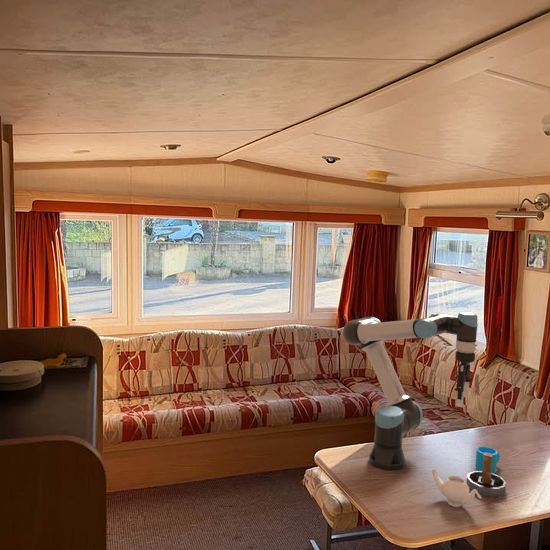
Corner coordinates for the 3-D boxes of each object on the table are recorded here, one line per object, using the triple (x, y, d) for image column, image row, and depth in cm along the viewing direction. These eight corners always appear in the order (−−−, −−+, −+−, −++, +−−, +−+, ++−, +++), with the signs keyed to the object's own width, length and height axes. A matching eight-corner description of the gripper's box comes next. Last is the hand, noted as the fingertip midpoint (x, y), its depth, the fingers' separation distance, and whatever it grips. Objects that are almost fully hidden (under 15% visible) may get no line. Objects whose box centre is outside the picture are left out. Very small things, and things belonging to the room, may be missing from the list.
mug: (486, 475, 222) (488, 456, 221) (471, 466, 229) (472, 448, 228) (506, 469, 227) (507, 451, 226) (490, 461, 234) (491, 443, 234)
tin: (464, 491, 208) (464, 482, 208) (469, 476, 220) (470, 468, 220) (503, 500, 201) (503, 492, 201) (506, 484, 214) (507, 476, 213)
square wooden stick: (481, 486, 210) (483, 455, 209) (482, 483, 213) (484, 452, 211) (489, 488, 209) (491, 456, 207) (490, 485, 211) (492, 454, 210)
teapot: (473, 519, 188) (475, 494, 187) (423, 496, 203) (425, 473, 202) (486, 510, 194) (488, 486, 193) (437, 488, 209) (439, 466, 208)
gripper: (470, 359, 204) (466, 412, 206) (479, 346, 226) (475, 394, 228) (450, 356, 208) (446, 409, 210) (460, 343, 230) (457, 391, 232)
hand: (462, 401), depth 219 cm, fingers open, 13 cm apart
